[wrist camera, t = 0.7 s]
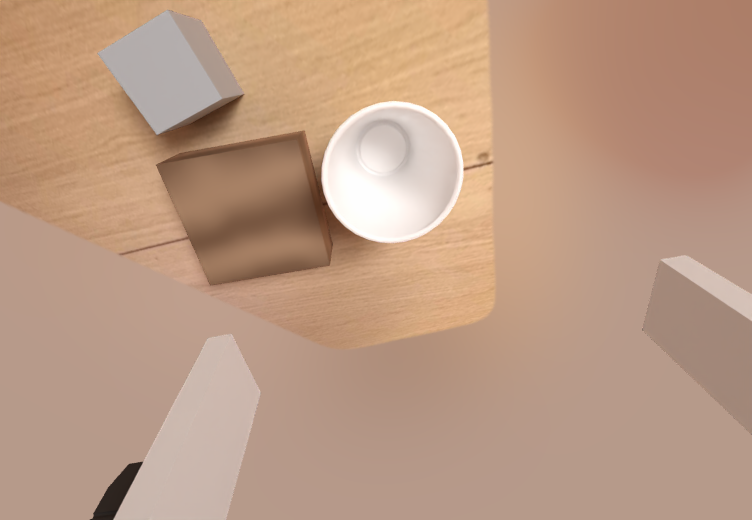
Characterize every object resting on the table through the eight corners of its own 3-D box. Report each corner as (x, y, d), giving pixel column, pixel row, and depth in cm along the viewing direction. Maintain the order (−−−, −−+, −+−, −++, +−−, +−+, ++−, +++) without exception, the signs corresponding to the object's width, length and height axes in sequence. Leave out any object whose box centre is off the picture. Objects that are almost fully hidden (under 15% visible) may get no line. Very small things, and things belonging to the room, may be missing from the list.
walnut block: (181, 152, 34) (155, 164, 30) (305, 130, 34) (297, 139, 29) (226, 261, 40) (210, 285, 35) (332, 243, 39) (329, 265, 35)
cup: (382, 217, 38) (391, 267, 28) (309, 149, 34) (290, 181, 25) (455, 147, 35) (492, 177, 25) (382, 65, 31) (394, 64, 22)
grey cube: (142, 56, 30) (97, 53, 25) (201, 20, 29) (167, 9, 24) (189, 124, 33) (156, 135, 28) (244, 93, 32) (222, 98, 27)
